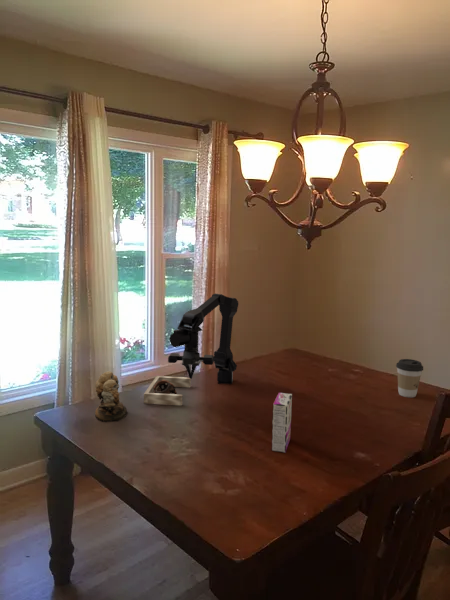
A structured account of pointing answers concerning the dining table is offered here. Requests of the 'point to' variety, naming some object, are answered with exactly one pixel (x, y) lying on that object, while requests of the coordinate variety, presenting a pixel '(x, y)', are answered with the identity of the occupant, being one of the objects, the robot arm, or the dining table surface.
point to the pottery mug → (165, 387)
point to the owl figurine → (109, 399)
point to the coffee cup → (408, 376)
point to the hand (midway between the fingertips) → (190, 378)
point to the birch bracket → (166, 398)
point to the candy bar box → (281, 422)
